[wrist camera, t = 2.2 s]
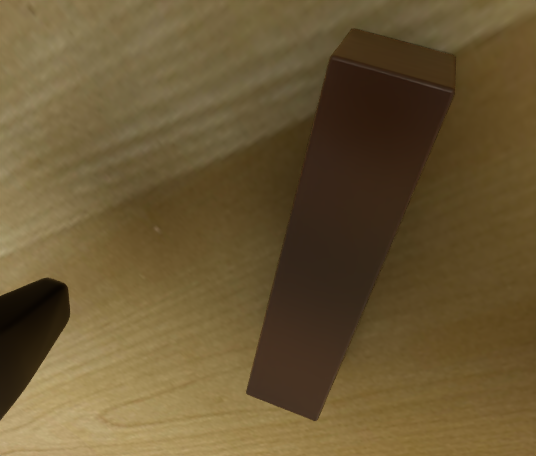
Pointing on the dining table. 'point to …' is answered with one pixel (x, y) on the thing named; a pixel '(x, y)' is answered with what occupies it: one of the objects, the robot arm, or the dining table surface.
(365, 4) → the dining table surface
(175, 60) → the dining table surface
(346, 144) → the stick
